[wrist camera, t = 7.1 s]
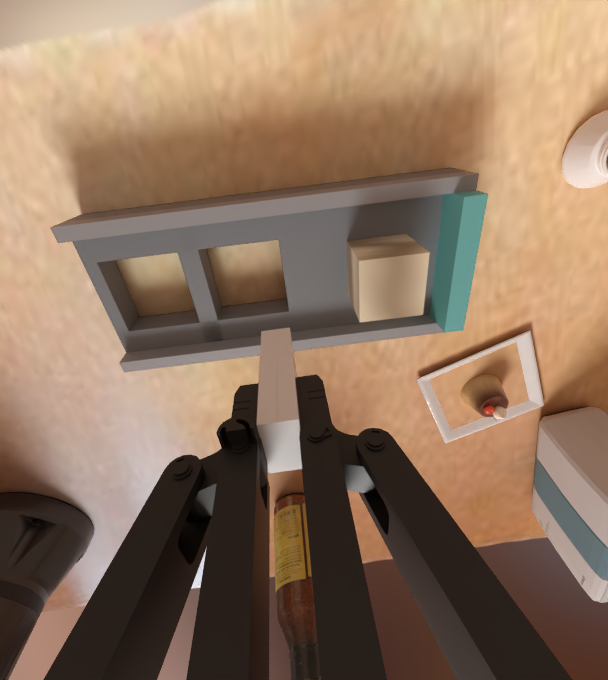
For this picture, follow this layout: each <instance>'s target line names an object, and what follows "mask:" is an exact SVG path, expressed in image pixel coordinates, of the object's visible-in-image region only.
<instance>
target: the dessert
mask: <svg viewBox="0 0 608 680" xmlns="http://www.w3.org/2000/svg"><path fill="white" fill-rule="evenodd" d="M515 342H516V343H517V346H518V351H519V355H520V360H521V364H522V369H523V374H524V378H525V383H526V387H527V392H528V397H529V400H528V401H525V402H523V403H520V404H518V405H515V406H513V407H510V408H507V406H508V399H507V397H506V394H505V392H504V389H503V387H502V384H501V381H500V379H499V378H498V377H497V376H495V375H491V374H485V375H480V376H477V377H475V378H473V379H471V380H470V381H468V382H467V383H466V384H465V385H464V387H463V388H462V391H461V398H462V400H463V401H464V402H465V403H467V404H468V405H469V406H471V407H472V408H473V409H474V410H476V411H477V412H478V413H480V414H481V415H482V416H485V417H484V418H481V419H479V420H476V421H474V422H471V423H468V424H466V425H463V426H461V427H458V428H456V429H453V430H451V429H450V427H449V425H448V422H447V420H446V418H445V415H444V413H443V411H442V408H441V406H440V404H439V401H438V399H437V397H436V394H435V392H434V390H433V387H432V385H431V383H430V379H431V378H433V377H436V376H438V375H440V374H443V373H445V372H447V371H450V370H452V369H454V368H457V367H459V366H461V365H464V364H466V363H468V362H471V361H473V360H475V359H478V358H480V357H482V356H485V355H487V354H489V353H492V352H494V351H496V350H499V349H501V348H503V347H506V346H508V345H510V344H512V343H515ZM416 381H417V383H418V385H419V387H420V389H421V392H422V394H423V396H424V398H425V400H426V402H427V405H428V407H429V409H430V411H431V413H432V415H433V418H434V420H435V422H436V424H437V426H438V428H439V431H440V433H441V435H442V437H443V439H444V441H445V443H448V442H451V441H453V440H456V439H459V438H461V437H464V436H467V435H469V434H472V433H474V432H477V431H480V430H482V429H485V428H487V427H490V426H493V425H495V424H498V423H500V422H503V421H506V420H508V419H511V418H514V417H516V416H519V415H521V414H524V413H527V412H529V411H532V410H534V409H537V408H540V407H542V406H544V400H543V395H542V389H541V384H540V378H539V372H538V367H537V361H536V356H535V350H534V345H533V339H532V334H531V331H530V330H529V331H527V332H524V333H522V334H520V335H517V336H515V337H513V338H510V339H508V340H506V341H504V342H501V343H499V344H497V345H494V346H492V347H490V348H487V349H485V350H483V351H480V352H478V353H476V354H473V355H471V356H469V357H467V358H464V359H462V360H460V361H457V362H455V363H453V364H450V365H448V366H446V367H443V368H441V369H439V370H437V371H434V372H432V373H430V374H427V375H425V376H423V377H420V378H418V379H417V380H416ZM506 408H507V409H506Z"/></svg>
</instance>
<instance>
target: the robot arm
mask: <svg viewBox="0 0 608 680" xmlns="http://www.w3.org/2000/svg"><path fill="white" fill-rule="evenodd" d="M217 436H218V438H219V441H220V444H221V447H222V449H220V450H219V451H218V452H216V453H214V454H212V455H210V456H208V457H205V458H203V459H201V460H200V459H199V458H198V457H197V456H193V455H183V456H181V457H178V458H176V459H175V460H173V461H172V462H171V463H170V464H169V465H168V466H167V467H166V469H165V470H164V472H163V473H162V475H161V477H160V479H159V480H158V482H157V484H156V486H155V487H154V489H153V491H152V493H151V494H150V496H149V498H148V499H147V501H146V503H145V505H144V506H143V508H142V510H141V512H140V513H139V515H138V517H137V519H136V520H135V522H134V524H133V525H132V527H131V529H130V531H129V532H128V534H127V536H126V538H125V539H124V541H123V543H122V545H121V546H120V548H119V550H118V551H117V553H116V555H115V557H114V558H113V560H112V562H111V564H110V565H109V567H108V569H107V571H106V572H105V574H104V576H103V577H102V579H101V581H100V583H99V584H98V586H97V588H96V590H95V591H94V593H93V595H92V597H91V598H90V600H89V602H88V603H87V605H86V607H85V609H84V611H83V612H82V614H81V616H80V618H79V619H78V621H77V623H76V624H75V626H74V628H73V629H72V631H71V633H70V635H69V636H68V638H67V640H66V642H65V643H64V645H63V647H62V649H61V650H60V652H59V654H58V655H57V657H56V659H55V661H54V663H53V664H52V666H51V668H50V670H49V671H48V673H47V675H46V676H45V678H44V680H157V678H158V675H159V673H160V670H161V667H162V665H163V662H164V659H165V656H166V654H167V651H168V648H169V646H170V643H171V640H172V638H173V635H174V632H175V630H176V627H177V624H178V622H179V619H180V616H181V614H182V611H183V608H184V605H185V603H186V600H187V598H188V595H189V592H190V590H191V587H192V584H193V581H194V579H195V576H196V573H197V571H198V568H199V565H200V563H201V560H202V557H203V555H204V552H205V549H206V547H207V549H206V556H205V562H204V569H203V575H202V582H201V588H200V595H199V602H198V608H197V615H196V621H195V627H194V635H193V640H192V647H191V653H190V660H189V666H188V673H187V680H269V494H270V487H269V482H268V478H267V467H268V471H269V473H276V472H283V471H291V470H298V469H302V473H303V484H304V496H305V507H306V518H307V529H308V540H309V552H310V563H311V574H312V585H313V597H314V608H315V619H316V630H317V641H318V653H319V664H320V675H321V680H387V678H386V673H385V668H384V664H383V659H382V655H381V649H380V645H379V640H378V635H377V630H376V625H375V621H374V616H373V612H372V606H371V602H370V597H369V592H368V587H367V583H366V578H365V573H364V569H363V564H362V559H361V554H360V549H359V545H358V540H357V535H356V530H355V526H354V521H353V516H352V511H351V507H350V502H349V497H348V492H347V490H349V491H354V492H359V494H360V496H361V498H362V500H363V502H364V504H365V505H366V507H367V509H368V511H369V513H370V515H371V517H372V519H373V521H374V523H375V524H376V526H377V528H378V530H379V532H380V534H381V536H382V538H383V540H384V542H385V544H386V545H387V547H388V549H389V551H390V553H391V555H392V557H393V559H394V561H395V563H396V564H397V566H398V568H399V570H400V572H401V574H402V576H403V577H404V580H405V581H406V583H407V585H408V587H409V589H410V591H411V593H412V595H413V597H414V599H415V601H416V603H417V604H418V606H419V608H420V610H421V612H422V614H423V616H424V618H425V620H426V622H427V624H428V625H429V627H430V629H431V631H432V633H433V635H434V637H435V639H436V641H437V642H438V644H439V646H440V648H441V650H442V652H443V654H444V656H445V658H446V660H447V662H448V663H449V665H450V667H451V669H452V671H453V673H454V675H455V677H456V679H457V680H572V679H571V677H570V676H569V675H568V673H567V672H566V670H565V669H564V668H563V667H562V665H561V664H560V663H559V661H558V660H557V658H556V657H555V656H554V654H553V653H552V652H551V650H550V649H549V648H548V646H547V645H546V643H545V642H544V641H543V639H542V638H541V637H540V635H539V634H538V633H537V632H536V630H535V629H534V627H533V626H532V625H531V623H530V622H529V621H528V619H527V618H526V617H525V615H524V614H523V612H522V611H521V610H520V609H519V607H518V606H517V604H516V603H515V602H514V600H513V599H512V598H511V597H510V595H509V594H508V592H507V591H506V590H505V588H504V587H503V586H502V584H501V583H500V581H499V580H498V579H497V578H496V576H495V575H494V574H493V572H492V571H491V569H490V568H489V567H488V565H487V564H486V563H485V561H484V560H483V559H482V557H481V556H480V555H479V553H478V552H477V550H476V549H475V548H474V546H473V545H472V544H471V542H470V541H469V540H468V538H467V537H466V536H465V534H464V533H463V532H462V530H461V529H460V528H459V526H458V525H457V523H456V522H455V521H454V519H453V518H452V517H451V515H450V514H449V513H448V511H447V510H446V509H445V507H444V506H443V505H442V503H441V502H440V501H439V499H438V498H437V497H436V495H435V494H434V492H433V491H432V490H431V488H430V487H429V486H428V484H427V483H426V482H425V480H424V479H423V478H422V476H421V475H420V474H419V472H418V471H417V470H416V468H415V467H414V466H413V464H412V463H411V461H410V460H409V459H408V457H407V456H406V455H405V453H404V452H403V451H402V449H401V448H400V447H399V445H398V444H397V443H396V441H395V440H394V439H393V437H392V436H391V435H390V434H389V433H388V432H386V431H384V430H382V429H378V428H370V429H366V430H364V431H362V432H361V433H360V434H359V435H358V436H355V435H348V434H344V433H342V432H340V431H338V430H337V429H336V428H335V427H334V426H333V424H332V422H331V418H330V413H329V408H328V403H327V399H326V394H325V389H324V384H323V381H322V380H321V379H320V378H319V376H318V375H311V376H303V377H297V373H296V365H295V359H294V352H293V345H292V339H291V332H290V327H289V328H282V329H274V330H267V331H261V347H260V366H259V383H258V384H251V385H243V386H240V387H239V389H238V390H237V392H236V393H235V396H234V404H233V411H232V417H231V418H230V419H228V420H227V421H225V422H223V423H222V424H221V425H220V427H219V428H218V430H217ZM93 534H94V528H93V525H92V523H91V522H90V520H89V519H88V518H87V517H86V516H85V515H84V514H83V513H81V512H80V511H79V510H77V509H75V508H74V507H72V506H70V505H68V504H66V503H63V502H61V501H58V500H55V499H52V498H48V497H44V496H40V495H34V494H26V493H2V494H0V680H9V677H10V676H11V673H12V671H13V669H14V667H15V665H16V663H17V661H18V659H19V657H20V655H21V653H22V651H23V649H24V647H25V644H26V643H27V640H28V638H29V636H30V634H31V632H32V630H33V628H34V626H35V624H36V622H37V620H38V617H39V616H40V614H41V612H42V610H43V608H44V606H45V604H46V602H47V600H48V598H49V597H50V596H51V594H52V593H53V592H54V591H55V589H56V588H57V587H58V586H59V584H60V583H61V582H62V580H63V579H64V578H65V577H66V575H67V574H68V573H69V571H70V570H71V569H72V567H73V566H74V565H75V563H77V562H78V561H79V560H80V559H81V558H82V557H83V555H84V554H85V552H86V550H87V548H88V546H89V544H90V542H91V539H92V537H93Z"/></svg>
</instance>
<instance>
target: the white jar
mask: <svg viewBox="0 0 608 680" xmlns="http://www.w3.org/2000/svg"><path fill="white" fill-rule="evenodd" d="M607 156H608V110H605V111H603V112H601V113H598V114H596V115H594V116H592V117H590V118H589V119H588V120H587V121H586V122H585V123H584V124H582V125H581V126H580V127H579V128H578V129H577V130H576V132H575V133H574V135H573V136H572V138H571V139H570V141H569V142H568V144H567V146H566V149H565V152H564V155H563V158H562V174H563V176H564V178H565V180H566V182H567V183H569V184H571V185H572V186H574V187H576V188H593V187H595V186H598V185H600V184H603V183H606V182H608V164H607V165H606V160H607Z"/></svg>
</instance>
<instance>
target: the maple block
mask: <svg viewBox="0 0 608 680" xmlns="http://www.w3.org/2000/svg"><path fill="white" fill-rule="evenodd" d="M429 254H430V252H428V251H427V250H426V249H425V248H424V247H422V246H421V245H420V244H419V243H417V242H416V241H415V240H414V239H412V238H411V237H410V236H409V235H407V234H400V235H392V236H383V237H375V238H367V239H359V240H350V241H347V268H348V296H349V298H350V301H351V303H352V305H353V308H354V310H355V313H356V315H357V317H358V320H359V322H369V321H377V320H385V319H393V318H402V317H410V316H418V315H423V310H424V301H425V292H426V282H427V273H428V264H429Z"/></svg>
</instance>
